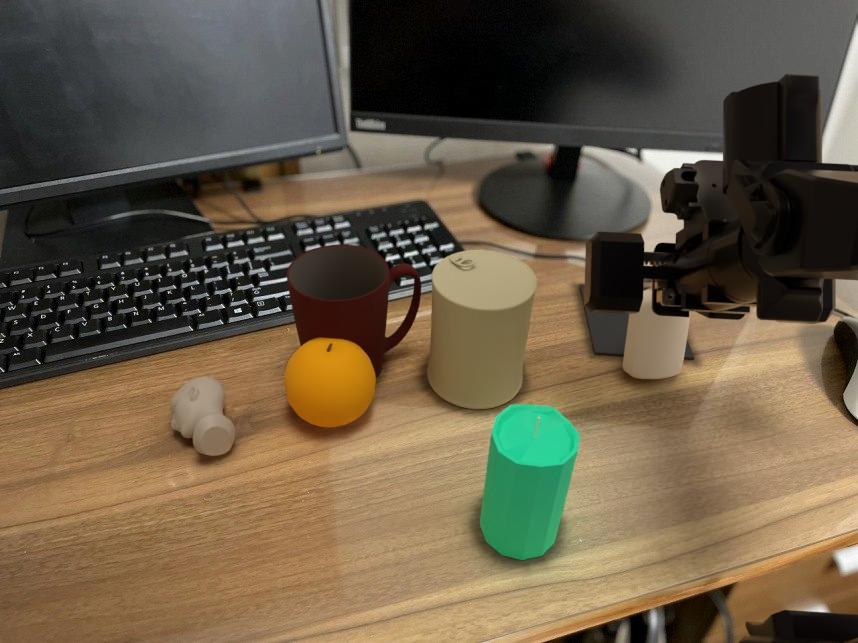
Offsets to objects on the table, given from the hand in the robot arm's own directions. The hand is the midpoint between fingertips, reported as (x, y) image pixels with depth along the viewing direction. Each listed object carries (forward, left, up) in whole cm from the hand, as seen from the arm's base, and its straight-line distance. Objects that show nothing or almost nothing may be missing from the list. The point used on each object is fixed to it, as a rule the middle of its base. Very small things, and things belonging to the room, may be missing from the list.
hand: (670, 293), depth 61 cm
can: (+9, +15, -9) cm, 20 cm away
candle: (-6, +23, -9) cm, 26 cm away
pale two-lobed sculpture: (+17, +39, -9) cm, 43 cm away
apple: (+13, +28, -9) cm, 33 cm away
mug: (+17, +23, -9) cm, 30 cm away
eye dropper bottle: (-1, +1, -9) cm, 9 cm away
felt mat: (+6, -5, -9) cm, 12 cm away
